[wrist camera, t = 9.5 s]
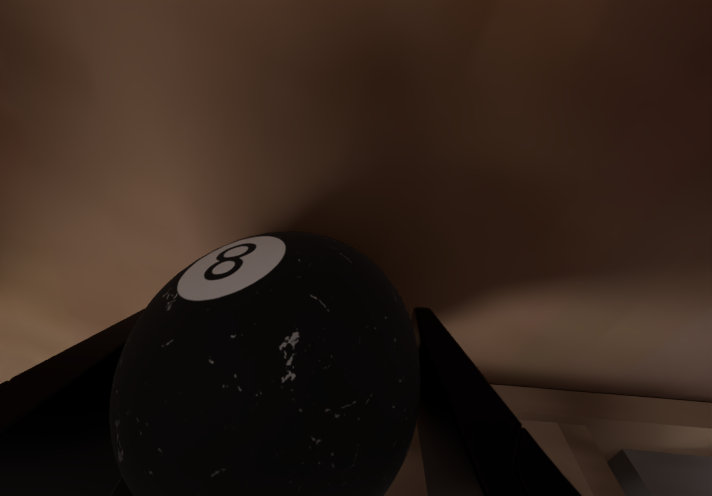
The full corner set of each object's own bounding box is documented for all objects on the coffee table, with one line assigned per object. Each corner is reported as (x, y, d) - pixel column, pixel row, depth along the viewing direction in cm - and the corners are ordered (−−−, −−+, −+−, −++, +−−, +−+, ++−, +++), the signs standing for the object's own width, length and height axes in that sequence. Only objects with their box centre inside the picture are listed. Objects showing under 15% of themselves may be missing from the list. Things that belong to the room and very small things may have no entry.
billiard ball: (393, 174, 7) (423, 441, 2) (417, 337, 10) (454, 609, 5) (182, 213, 8) (-152, 454, 3) (262, 351, 11) (162, 586, 6)
